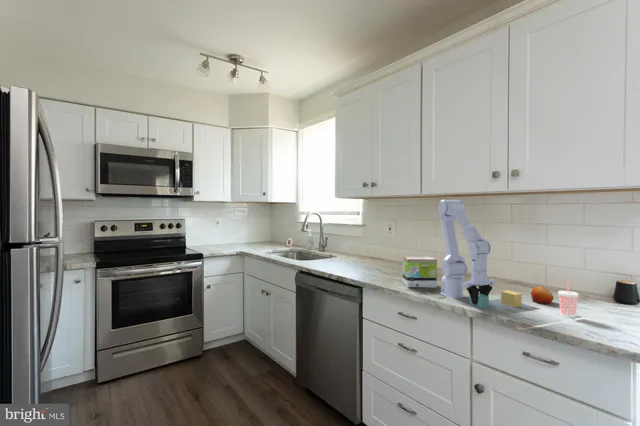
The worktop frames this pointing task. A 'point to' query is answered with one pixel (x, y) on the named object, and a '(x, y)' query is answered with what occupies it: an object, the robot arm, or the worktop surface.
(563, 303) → the beverage cup
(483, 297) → the teal brick
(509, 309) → the baseplate
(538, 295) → the fruit
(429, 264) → the tea box
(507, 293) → the mustard brick
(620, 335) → the worktop surface
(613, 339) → the worktop surface
